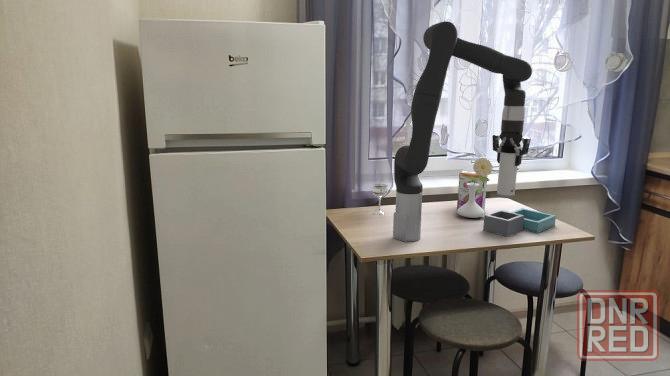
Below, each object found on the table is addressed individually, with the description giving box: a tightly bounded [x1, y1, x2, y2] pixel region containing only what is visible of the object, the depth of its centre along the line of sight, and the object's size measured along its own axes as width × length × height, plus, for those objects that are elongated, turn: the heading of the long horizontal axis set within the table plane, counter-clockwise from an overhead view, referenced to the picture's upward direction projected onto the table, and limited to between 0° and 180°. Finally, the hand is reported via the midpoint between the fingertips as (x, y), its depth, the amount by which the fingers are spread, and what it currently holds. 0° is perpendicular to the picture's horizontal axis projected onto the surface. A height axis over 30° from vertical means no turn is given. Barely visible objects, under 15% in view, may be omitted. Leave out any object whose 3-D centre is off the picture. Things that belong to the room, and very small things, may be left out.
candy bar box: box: [456, 170, 488, 211], centre depth 204 cm, size 11×5×16 cm, turn 58°
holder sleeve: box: [482, 209, 524, 237], centre depth 177 cm, size 11×10×6 cm
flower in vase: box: [456, 157, 494, 219], centre depth 192 cm, size 13×11×25 cm
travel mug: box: [496, 145, 519, 199], centre depth 172 cm, size 6×7×20 cm
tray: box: [511, 208, 557, 234], centre depth 184 cm, size 14×14×4 cm
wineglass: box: [371, 183, 389, 215], centre depth 199 cm, size 7×7×12 cm
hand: (508, 164), depth 172 cm, fingers closed on travel mug, 6 cm apart
